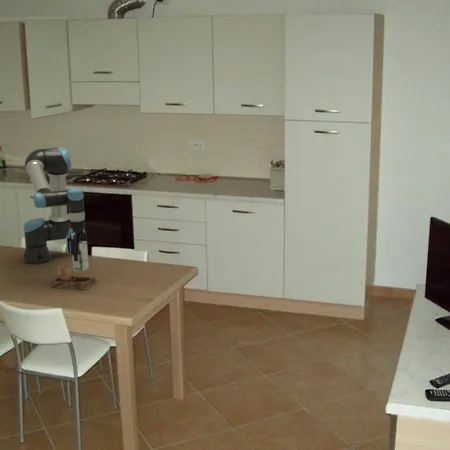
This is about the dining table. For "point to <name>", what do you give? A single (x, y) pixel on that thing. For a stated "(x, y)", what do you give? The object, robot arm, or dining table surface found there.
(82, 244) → the syrup box
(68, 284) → the caddy
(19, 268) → the dining table surface
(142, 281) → the dining table surface
